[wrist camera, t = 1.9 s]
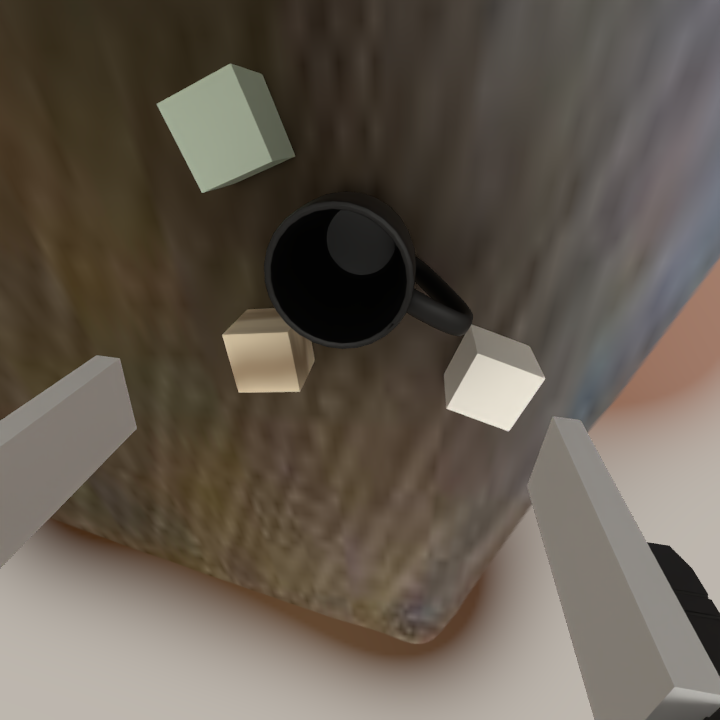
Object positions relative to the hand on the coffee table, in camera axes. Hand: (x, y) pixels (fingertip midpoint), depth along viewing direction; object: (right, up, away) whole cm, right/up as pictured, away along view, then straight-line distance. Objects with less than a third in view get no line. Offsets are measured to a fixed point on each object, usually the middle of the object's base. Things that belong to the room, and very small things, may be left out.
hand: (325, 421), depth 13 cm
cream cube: (+11, +2, +21) cm, 24 cm away
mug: (+3, +10, +18) cm, 21 cm away
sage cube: (-7, +17, +15) cm, 24 cm away
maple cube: (-6, +4, +22) cm, 23 cm away
